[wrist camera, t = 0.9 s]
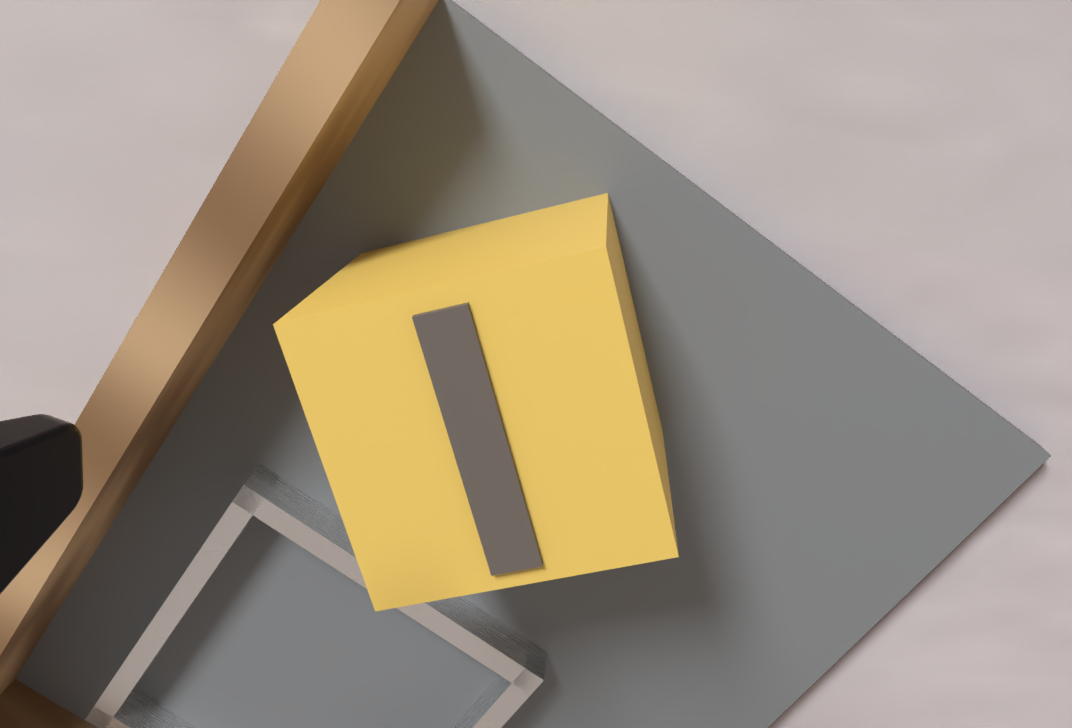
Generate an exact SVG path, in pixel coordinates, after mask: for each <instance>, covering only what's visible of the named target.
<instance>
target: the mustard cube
mask: <svg viewBox="0 0 1072 728" xmlns="http://www.w3.org/2000/svg"><path fill="white" fill-rule="evenodd" d="M273 326H274V329H275V332H276V334H277V337H278V340H279V343H280V346H281V348H282V351H283V354H284V357H285V360H286V363H287V365H288V368H289V371H290V374H291V377H292V379H293V382H294V385H295V388H296V391H297V393H298V396H299V399H300V402H301V405H302V407H303V410H304V413H305V416H306V419H307V421H308V424H309V427H310V430H311V433H312V436H313V438H314V441H315V444H316V447H317V450H318V452H319V455H320V458H321V461H322V464H323V466H324V469H325V472H326V475H327V478H328V480H329V483H330V486H331V489H332V492H333V494H334V497H335V500H336V503H337V506H338V509H339V511H340V514H341V517H342V520H343V523H344V525H345V528H346V531H347V534H348V537H349V539H350V542H351V545H352V548H353V551H354V553H355V556H356V559H357V562H358V565H359V568H360V570H361V573H362V576H363V579H364V582H365V584H366V587H367V590H368V593H369V596H370V598H371V601H372V604H373V607H374V610H375V611H381V610H386V609H392V608H398V607H403V606H409V605H414V604H420V603H425V602H431V601H437V600H442V599H448V598H453V597H459V596H464V595H470V594H476V593H481V592H487V591H492V590H498V589H503V588H509V587H515V586H520V585H526V584H531V583H537V582H542V581H548V580H554V579H559V578H565V577H570V576H576V575H581V574H587V573H593V572H598V571H604V570H609V569H615V568H620V567H626V566H632V565H637V564H643V563H648V562H654V561H659V560H665V559H671V558H676V557H679V554H678V547H677V539H676V531H675V523H674V516H673V508H672V500H671V492H670V485H669V477H668V469H667V461H666V453H665V446H664V438H663V430H662V426H661V421H660V417H659V413H658V408H657V404H656V400H655V395H654V391H653V387H652V382H651V378H650V374H649V369H648V365H647V361H646V356H645V352H644V347H643V343H642V339H641V334H640V330H639V326H638V321H637V317H636V313H635V308H634V304H633V300H632V295H631V291H630V287H629V282H628V278H627V273H626V269H625V265H624V260H623V256H622V252H621V247H620V243H619V239H618V234H617V230H616V226H615V221H614V217H613V213H612V208H611V204H610V199H609V195H608V193H605V194H601V195H597V196H593V197H589V198H585V199H581V200H577V201H573V202H569V203H565V204H560V205H556V206H552V207H548V208H544V209H540V210H536V211H532V212H528V213H524V214H520V215H515V216H511V217H507V218H503V219H499V220H495V221H491V222H487V223H483V224H479V225H474V226H470V227H466V228H462V229H458V230H454V231H450V232H446V233H442V234H438V235H434V236H429V237H425V238H421V239H417V240H413V241H409V242H405V243H401V244H397V245H393V246H389V247H384V248H380V249H376V250H372V251H368V252H364V253H361V254H360V255H359V256H357V257H356V258H355V259H354V260H352V261H351V262H350V263H349V264H347V265H346V266H345V267H344V268H342V269H341V270H340V271H339V272H337V273H336V274H335V275H334V276H332V277H331V278H330V279H329V280H328V281H326V282H325V283H324V284H323V285H321V286H320V287H319V288H318V289H316V290H315V291H314V292H313V293H311V294H310V295H309V296H308V297H306V298H305V299H304V300H303V301H301V302H300V303H299V304H298V305H297V306H295V307H294V308H293V309H292V310H290V311H289V312H288V313H287V314H285V315H284V316H283V317H282V318H280V319H279V320H278V321H277V322H275V323H274V324H273Z"/></svg>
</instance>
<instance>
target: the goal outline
mask: <svg viewBox="0 0 1072 728" xmlns="http://www.w3.org/2000/svg"><path fill="white" fill-rule="evenodd" d="M253 516H255V517H256V518H258V519H259V520H261V521H262V522H264V523H266V524H267V525H269V526H270V527H272V528H273V529H275V530H276V531H278V532H279V533H281V534H283V535H284V536H286V537H287V538H289V539H290V540H292V541H293V542H295V543H296V544H298V545H300V546H301V547H303V548H304V549H306V550H307V551H309V552H310V553H312V554H313V555H315V556H317V557H318V558H320V559H321V560H323V561H324V562H326V563H327V564H329V565H330V566H332V567H334V568H335V569H337V570H338V571H340V572H341V573H343V574H344V575H346V576H347V577H349V578H351V579H352V580H354V581H355V582H357V583H358V584H360V585H361V586H363V587H364V588H366V589H367V587H366V584H365V582H364V579H363V576H362V573H361V570H360V568H359V565H358V562H357V559H356V556H355V553H354V551H353V548H352V545H351V542H350V539H349V537H348V534H347V531H346V528H345V525H344V523H343V520H342V517H341V516H340V515H338V514H336V513H335V512H333V511H332V510H330V509H329V508H327V507H326V506H324V505H323V504H321V503H320V502H318V501H317V500H315V499H314V498H312V497H311V496H309V495H308V494H306V493H305V492H303V491H301V490H300V489H298V488H297V487H295V486H294V485H292V484H291V483H289V482H288V481H286V480H285V479H283V478H282V477H280V476H279V475H277V474H276V473H274V472H273V471H271V470H270V469H268V468H266V467H265V466H263V465H262V464H261V465H260V466H259V467H258V468H257V470H256V471H255V472H254V473H253V474H252V476H251V477H250V478H249V479H248V480H247V481H246V483H245V484H244V485H243V486H242V488H241V489H240V491H239V492H238V494H237V495H236V497H235V498H234V500H233V501H232V503H231V504H230V506H229V507H228V509H227V510H226V512H225V513H224V515H223V516H222V518H221V519H220V521H219V522H218V524H217V525H216V526H215V528H214V529H213V531H212V532H211V534H210V535H209V537H208V538H207V540H206V541H205V543H204V544H203V546H202V547H201V549H200V550H199V552H198V553H197V555H196V556H195V558H194V559H193V561H192V562H191V563H190V565H189V566H188V568H187V569H186V571H185V572H184V574H183V575H182V577H181V578H180V580H179V581H178V583H177V584H176V586H175V587H174V589H173V590H172V592H171V593H170V595H169V596H168V598H167V599H166V601H165V602H164V603H163V605H162V606H161V608H160V609H159V611H158V612H157V614H156V615H155V617H154V618H153V620H152V621H151V623H150V624H149V626H148V627H147V629H146V630H145V632H144V633H143V635H142V636H141V638H140V639H139V640H138V642H137V643H136V645H135V646H134V648H133V649H132V651H131V652H130V654H129V655H128V657H127V658H126V660H125V661H124V663H123V664H122V666H121V667H120V669H119V670H118V672H117V673H116V675H115V676H114V678H113V679H112V680H111V682H110V683H109V685H108V686H107V688H106V689H105V691H104V692H103V694H102V695H101V697H100V698H99V700H98V701H97V703H96V704H95V706H94V707H93V709H92V710H91V712H90V713H89V715H88V716H87V717H86V719H85V720H86V721H88V722H89V723H91V724H93V725H94V726H96V727H98V728H198V727H196V726H194V725H193V724H191V723H190V722H188V721H186V720H185V719H183V718H181V717H180V716H178V715H176V714H175V713H173V712H171V711H170V710H168V709H166V708H165V707H163V706H162V705H160V704H158V703H157V702H155V701H153V700H152V699H150V698H148V697H147V696H145V695H143V694H142V693H140V692H138V691H137V690H135V687H136V686H137V684H138V683H139V681H140V680H141V679H142V677H143V676H144V674H145V673H146V671H147V670H148V668H149V667H150V666H151V664H152V663H153V661H154V660H155V658H156V657H157V655H158V654H159V653H160V651H161V650H162V648H163V647H164V645H165V644H166V642H167V641H168V639H169V638H170V637H171V635H172V634H173V632H174V631H175V629H176V628H177V626H178V625H179V624H180V622H181V621H182V619H183V618H184V616H185V615H186V613H187V612H188V611H189V609H190V608H191V606H192V605H193V603H194V602H195V600H196V599H197V597H198V596H199V595H200V593H201V592H202V590H203V589H204V587H205V586H206V584H207V583H208V582H209V580H210V579H211V577H212V576H213V574H214V573H215V571H216V570H217V569H218V567H219V566H220V564H221V563H222V561H223V560H224V558H225V557H226V555H227V554H228V553H229V551H230V550H231V548H232V547H233V545H234V544H235V542H236V541H237V540H238V538H239V537H240V535H241V534H242V532H243V531H244V529H245V528H246V526H247V525H248V524H249V522H250V521H251V519H252V518H253ZM397 609H398V610H400V611H401V612H403V613H405V614H406V615H408V616H409V617H411V618H412V619H414V620H415V621H417V622H418V623H420V624H422V625H423V626H425V627H426V628H428V629H429V630H431V631H432V632H434V633H435V634H437V635H439V636H440V637H442V638H443V639H445V640H446V641H448V642H449V643H451V644H452V645H454V646H456V647H457V648H459V649H460V650H462V651H463V652H465V653H466V654H468V655H469V656H471V657H472V658H474V659H476V660H477V661H479V662H480V663H482V664H483V665H485V666H486V667H488V668H489V669H491V670H493V671H494V672H496V673H497V674H499V675H498V676H497V678H496V679H495V680H494V681H493V682H492V683H491V684H490V686H489V687H488V688H487V689H486V690H485V691H484V692H483V694H482V695H481V696H480V697H479V698H478V699H477V700H476V702H475V703H474V704H473V705H472V706H471V707H470V708H469V710H468V711H467V712H466V713H465V714H464V715H463V716H462V718H461V719H460V720H459V721H458V722H457V723H456V724H455V726H454V727H453V728H501V727H502V726H503V725H504V724H505V723H506V722H507V721H508V720H509V719H510V717H511V716H512V715H513V714H514V713H515V712H516V711H517V710H518V709H519V707H520V706H521V705H522V704H523V703H524V702H525V701H526V700H527V699H528V697H529V696H530V695H531V694H532V693H533V692H534V691H535V690H536V689H537V687H538V686H539V685H540V684H541V683H542V682H543V681H544V675H545V666H546V657H547V651H545V650H544V649H542V648H540V647H539V646H537V645H536V644H534V643H533V642H531V641H530V640H528V639H527V638H525V637H524V636H522V635H521V634H519V633H518V632H516V631H515V630H513V629H512V628H510V627H509V626H507V625H505V624H504V623H502V622H501V621H499V620H498V619H496V618H495V617H493V616H492V615H490V614H489V613H487V612H486V611H484V610H483V609H481V608H480V607H478V606H477V605H475V604H474V603H472V602H470V601H469V600H467V599H466V598H464V597H463V596H459V597H453V598H448V599H442V600H437V601H431V602H425V603H420V604H414V605H409V606H403V607H398V608H397Z"/></svg>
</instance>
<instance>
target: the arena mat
mask: <svg viewBox="0 0 1072 728" xmlns="http://www.w3.org/2000/svg"><path fill="white" fill-rule="evenodd" d="M605 193H608V195H609V199H610V204H611V208H612V213H613V217H614V221H615V226H616V230H617V234H618V239H619V243H620V247H621V252H622V256H623V260H624V265H625V269H626V273H627V278H628V282H629V287H630V291H631V295H632V300H633V304H634V308H635V313H636V317H637V321H638V326H639V330H640V334H641V339H642V343H643V347H644V352H645V356H646V361H647V365H648V369H649V374H650V378H651V382H652V387H653V391H654V395H655V400H656V404H657V408H658V413H659V417H660V421H661V426H662V430H663V438H664V446H665V453H666V461H667V469H668V477H669V485H670V492H671V500H672V508H673V516H674V523H675V531H676V539H677V547H678V554H679V557H676V558H671V559H665V560H659V561H654V562H648V563H643V564H637V565H632V566H626V567H620V568H615V569H609V570H604V571H598V572H593V573H587V574H581V575H576V576H570V577H565V578H559V579H554V580H548V581H542V582H537V583H531V584H526V585H520V586H515V587H509V588H503V589H498V590H492V591H487V592H481V593H476V594H470V595H464V596H463V597H464V598H466V599H467V600H469V601H470V602H472V603H474V604H475V605H477V606H478V607H480V608H481V609H483V610H484V611H486V612H487V613H489V614H490V615H492V616H493V617H495V618H496V619H498V620H499V621H501V622H502V623H504V624H505V625H507V626H509V627H510V628H512V629H513V630H515V631H516V632H518V633H519V634H521V635H522V636H524V637H525V638H527V639H528V640H530V641H531V642H533V643H534V644H536V645H537V646H539V647H540V648H542V649H544V650H545V651H547V657H546V666H545V675H544V681H543V682H542V683H541V684H540V685H539V686H538V687H537V689H536V690H535V691H534V692H533V693H532V694H531V695H530V696H529V697H528V699H527V700H526V701H525V702H524V703H523V704H522V705H521V706H520V707H519V709H518V710H517V711H516V712H515V713H514V714H513V715H512V716H511V717H510V719H509V720H508V721H507V722H506V723H505V724H504V725H503V726H502V727H501V728H768V727H769V726H770V725H771V724H772V723H773V722H774V721H775V720H776V719H777V718H778V717H779V716H780V715H781V714H782V713H783V712H785V711H786V710H787V709H788V708H789V707H790V706H791V705H792V704H793V703H794V702H795V701H796V700H797V699H798V698H799V697H800V696H801V695H802V694H803V693H804V692H805V691H806V690H807V689H809V688H810V687H811V686H812V685H813V684H814V683H815V682H816V681H817V680H818V679H819V678H820V677H821V676H822V675H823V674H824V673H825V672H826V671H827V670H828V669H829V668H830V667H831V666H833V665H834V664H835V663H836V662H837V661H838V660H839V659H840V658H841V657H842V656H843V655H844V654H845V653H846V652H847V651H848V650H849V649H850V648H851V647H852V646H853V645H854V644H855V643H856V642H858V641H859V640H860V639H861V638H862V637H863V636H864V635H865V634H866V633H867V632H868V631H869V630H870V629H871V628H872V627H873V626H874V625H875V624H876V623H877V622H878V621H879V620H880V619H882V618H883V617H884V616H885V615H886V614H887V613H888V612H889V611H890V610H891V609H892V608H893V607H894V606H895V605H896V604H897V603H898V602H899V601H900V600H901V599H902V598H903V597H904V596H905V595H907V594H908V593H909V592H910V591H911V590H912V589H913V588H914V587H915V586H916V585H917V584H918V583H919V582H920V581H921V580H922V579H923V578H924V577H925V576H926V575H927V574H928V573H929V572H931V571H932V570H933V569H934V568H935V567H936V566H937V565H938V564H939V563H940V562H941V561H942V560H943V559H944V558H945V557H946V556H947V555H948V554H949V553H950V552H951V551H952V550H953V549H954V548H956V547H957V546H958V545H959V544H960V543H961V542H962V541H963V540H964V539H965V538H966V537H967V536H968V535H969V534H970V533H971V532H972V531H973V530H974V529H975V528H976V527H977V526H978V525H980V524H981V523H982V522H983V521H984V520H985V519H986V518H987V517H988V516H989V515H990V514H991V513H992V512H993V511H994V510H995V509H996V508H997V507H998V506H999V505H1000V504H1001V503H1002V502H1003V501H1005V500H1006V499H1007V498H1008V497H1009V496H1010V495H1011V494H1012V493H1013V492H1014V491H1015V490H1016V489H1017V488H1018V487H1019V486H1020V485H1021V484H1022V483H1023V482H1024V481H1025V480H1026V479H1027V478H1029V477H1030V476H1031V475H1032V474H1033V473H1034V472H1035V471H1036V470H1037V469H1038V468H1039V467H1040V466H1041V465H1042V464H1043V463H1044V462H1045V461H1046V460H1047V459H1048V458H1049V457H1050V456H1051V455H1050V454H1049V453H1048V452H1046V451H1045V450H1044V449H1043V448H1042V447H1041V446H1040V445H1039V444H1037V443H1036V442H1035V441H1033V440H1032V439H1031V438H1029V437H1028V436H1027V435H1025V434H1024V433H1023V432H1021V431H1020V430H1019V429H1017V428H1016V427H1015V426H1014V425H1012V424H1011V423H1010V422H1008V421H1007V420H1006V419H1004V418H1003V417H1002V416H1000V415H999V414H998V413H996V412H995V411H994V410H992V409H991V408H990V407H988V406H987V405H986V404H984V403H983V402H982V401H980V400H979V399H978V398H977V397H975V396H974V395H973V394H971V393H970V392H969V391H967V390H966V389H965V388H963V387H962V386H961V385H959V384H958V383H957V382H955V381H954V380H953V379H951V378H950V377H949V376H947V375H946V374H945V373H943V372H942V371H941V370H940V369H938V368H937V367H936V366H934V365H933V364H932V363H930V362H929V361H928V360H926V359H925V358H924V357H922V356H921V355H920V354H918V353H917V352H916V351H914V350H913V349H912V348H910V347H909V346H908V345H906V344H905V343H904V342H903V341H901V340H900V339H899V338H897V337H896V336H895V335H893V334H892V333H891V332H889V331H888V330H887V329H885V328H884V327H883V326H881V325H880V324H879V323H877V322H876V321H875V320H873V319H872V318H871V317H870V316H868V315H867V314H866V313H864V312H863V311H862V310H860V309H859V308H858V307H856V306H855V305H854V304H852V303H851V302H850V301H848V300H847V299H846V298H844V297H843V296H842V295H840V294H839V293H838V292H836V291H835V290H834V289H833V288H831V287H830V286H829V285H827V284H826V283H825V282H823V281H822V280H821V279H819V278H818V277H817V276H815V275H814V274H813V273H811V272H810V271H809V270H807V269H806V268H805V267H803V266H802V265H801V264H799V263H798V262H797V261H796V260H794V259H793V258H792V257H790V256H789V255H788V254H786V253H785V252H784V251H782V250H781V249H780V248H778V247H777V246H776V245H774V244H773V243H772V242H770V241H769V240H768V239H766V238H765V237H764V236H762V235H761V234H760V233H759V232H757V231H756V230H755V229H753V228H752V227H751V226H749V225H748V224H747V223H745V222H744V221H743V220H741V219H740V218H739V217H737V216H736V215H735V214H733V213H732V212H731V211H729V210H728V209H727V208H725V207H724V206H723V205H722V204H720V203H719V202H718V201H716V200H715V199H714V198H712V197H711V196H710V195H708V194H707V193H706V192H704V191H703V190H702V189H700V188H699V187H698V186H696V185H695V184H694V183H692V182H691V181H690V180H688V179H687V178H686V177H685V176H683V175H682V174H681V173H679V172H678V171H677V170H675V169H674V168H673V167H671V166H670V165H669V164H667V163H666V162H665V161H663V160H662V159H661V158H659V157H658V156H657V155H655V154H654V153H653V152H651V151H650V150H649V149H648V148H646V147H645V146H644V145H642V144H641V143H640V142H638V141H637V140H636V139H634V138H633V137H632V136H630V135H629V134H628V133H626V132H625V131H624V130H622V129H621V128H620V127H618V126H617V125H616V124H614V123H613V122H612V121H611V120H609V119H608V118H607V117H605V116H604V115H603V114H601V113H600V112H599V111H597V110H596V109H595V108H593V107H592V106H591V105H589V104H588V103H587V102H585V101H584V100H583V99H581V98H580V97H579V96H578V95H576V94H575V93H574V92H572V91H571V90H570V89H568V88H567V87H566V86H564V85H563V84H562V83H560V82H559V81H558V80H556V79H555V78H554V77H552V76H551V75H550V74H548V73H547V72H546V71H544V70H543V69H542V68H541V67H539V66H538V65H537V64H535V63H534V62H533V61H531V60H530V59H529V58H527V57H526V56H525V55H523V54H522V53H521V52H519V51H518V50H517V49H515V48H514V47H513V46H511V45H510V44H509V43H507V42H506V41H505V40H504V39H502V38H501V37H500V36H498V35H497V34H496V33H494V32H493V31H492V30H490V29H489V28H488V27H486V26H485V25H484V24H482V23H481V22H480V21H478V20H477V19H476V18H474V17H473V16H472V15H470V14H469V13H468V12H467V11H465V10H464V9H463V8H461V7H460V6H459V5H457V4H456V3H455V2H453V1H452V0H439V1H438V3H437V5H436V6H435V8H434V9H433V11H432V13H431V14H430V16H429V17H428V19H427V21H426V22H425V24H424V25H423V27H422V29H421V30H420V32H419V33H418V35H417V37H416V38H415V40H414V41H413V43H412V45H411V46H410V48H409V50H408V51H407V53H406V54H405V56H404V58H403V59H402V61H401V62H400V64H399V66H398V67H397V69H396V70H395V72H394V74H393V75H392V77H391V78H390V80H389V82H388V83H387V85H386V86H385V88H384V90H383V91H382V93H381V94H380V96H379V98H378V99H377V101H376V102H375V104H374V106H373V107H372V109H371V110H370V112H369V114H368V115H367V117H366V118H365V120H364V122H363V123H362V125H361V126H360V128H359V130H358V131H357V133H356V134H355V136H354V138H353V139H352V141H351V142H350V144H349V146H348V147H347V149H346V150H345V152H344V154H343V155H342V157H341V158H340V160H339V162H338V163H337V165H336V166H335V168H334V170H333V171H332V173H331V174H330V176H329V178H328V179H327V181H326V182H325V184H324V186H323V187H322V189H321V190H320V192H319V194H318V195H317V197H316V198H315V200H314V202H313V203H312V205H311V206H310V208H309V210H308V211H307V213H306V214H305V216H304V218H303V219H302V221H301V222H300V224H299V226H298V227H297V229H296V230H295V232H294V234H293V235H292V237H291V238H290V240H289V242H288V243H287V245H286V246H285V248H284V250H283V251H282V253H281V254H280V256H279V258H278V259H277V261H276V262H275V264H274V266H273V267H272V269H271V270H270V272H269V274H268V275H267V277H266V278H265V280H264V282H263V283H262V285H261V286H260V288H259V290H258V291H257V293H256V294H255V296H254V298H253V299H252V301H251V302H250V304H249V306H248V307H247V309H246V310H245V312H244V314H243V315H242V317H241V318H240V320H239V322H238V323H237V325H236V326H235V328H234V330H233V331H232V333H231V334H230V336H229V338H228V339H227V341H226V342H225V344H224V346H223V347H222V349H221V350H220V352H219V354H218V355H217V357H216V358H215V360H214V362H213V363H212V365H211V366H210V368H209V370H208V371H207V373H206V374H205V376H204V378H203V379H202V381H201V382H200V384H199V386H198V387H197V389H196V390H195V392H194V394H193V395H192V397H191V398H190V400H189V402H188V403H187V405H186V406H185V408H184V410H183V411H182V413H181V414H180V416H179V418H178V419H177V421H176V422H175V424H174V426H173V427H172V429H171V430H170V432H169V434H168V435H167V437H166V438H165V440H164V442H163V443H162V445H161V446H160V448H159V450H158V451H157V453H156V454H155V456H154V458H153V459H152V461H151V462H150V464H149V466H148V467H147V469H146V470H145V472H144V474H143V475H142V477H141V478H140V480H139V482H138V483H137V485H136V486H135V488H134V490H133V491H132V493H131V494H130V496H129V498H128V499H127V501H126V502H125V504H124V506H123V507H122V509H121V510H120V512H119V514H118V515H117V517H116V518H115V520H114V522H113V523H112V525H111V526H110V528H109V530H108V531H107V533H106V534H105V536H104V538H103V539H102V541H101V542H100V544H99V546H98V547H97V549H96V550H95V552H94V554H93V555H92V557H91V558H90V560H89V562H88V563H87V565H86V567H85V568H84V570H83V571H82V573H81V575H80V576H79V578H78V579H77V581H76V583H75V584H74V586H73V587H72V589H71V591H70V592H69V594H68V595H67V597H66V599H65V600H64V602H63V603H62V605H61V607H60V608H59V610H58V611H57V613H56V615H55V616H54V618H53V619H52V621H51V623H50V624H49V626H48V627H47V629H46V631H45V632H44V634H43V635H42V637H41V639H40V640H39V642H38V643H37V645H36V647H35V648H34V650H33V651H32V653H31V655H30V656H29V658H28V659H27V661H26V663H25V664H24V666H23V667H22V669H21V671H20V672H19V674H18V675H17V677H16V680H18V681H19V682H21V683H23V684H24V685H26V686H28V687H29V688H31V689H33V690H34V691H36V692H38V693H39V694H41V695H43V696H44V697H46V698H48V699H49V700H51V701H53V702H54V703H56V704H58V705H59V706H61V707H63V708H64V709H66V710H68V711H69V712H71V713H73V714H74V715H76V716H78V717H79V718H81V719H83V720H85V719H86V717H87V716H88V715H89V713H90V712H91V710H92V709H93V707H94V706H95V704H96V703H97V701H98V700H99V698H100V697H101V695H102V694H103V692H104V691H105V689H106V688H107V686H108V685H109V683H110V682H111V680H112V679H113V678H114V676H115V675H116V673H117V672H118V670H119V669H120V667H121V666H122V664H123V663H124V661H125V660H126V658H127V657H128V655H129V654H130V652H131V651H132V649H133V648H134V646H135V645H136V643H137V642H138V640H139V639H140V638H141V636H142V635H143V633H144V632H145V630H146V629H147V627H148V626H149V624H150V623H151V621H152V620H153V618H154V617H155V615H156V614H157V612H158V611H159V609H160V608H161V606H162V605H163V603H164V602H165V601H166V599H167V598H168V596H169V595H170V593H171V592H172V590H173V589H174V587H175V586H176V584H177V583H178V581H179V580H180V578H181V577H182V575H183V574H184V572H185V571H186V569H187V568H188V566H189V565H190V563H191V562H192V561H193V559H194V558H195V556H196V555H197V553H198V552H199V550H200V549H201V547H202V546H203V544H204V543H205V541H206V540H207V538H208V537H209V535H210V534H211V532H212V531H213V529H214V528H215V526H216V525H217V524H218V522H219V521H220V519H221V518H222V516H223V515H224V513H225V512H226V510H227V509H228V507H229V506H230V504H231V503H232V501H233V500H234V498H235V497H236V495H237V494H238V492H239V491H240V489H241V488H242V486H243V485H244V484H245V483H246V481H247V480H248V479H249V478H250V477H251V476H252V474H253V473H254V472H255V471H256V470H257V468H258V467H259V466H260V465H261V464H262V465H263V466H265V467H266V468H268V469H270V470H271V471H273V472H274V473H276V474H277V475H279V476H280V477H282V478H283V479H285V480H286V481H288V482H289V483H291V484H292V485H294V486H295V487H297V488H298V489H300V490H301V491H303V492H305V493H306V494H308V495H309V496H311V497H312V498H314V499H315V500H317V501H318V502H320V503H321V504H323V505H324V506H326V507H327V508H329V509H330V510H332V511H333V512H335V513H336V514H338V515H340V516H341V514H340V511H339V509H338V506H337V503H336V500H335V497H334V494H333V492H332V489H331V486H330V483H329V480H328V478H327V475H326V472H325V469H324V466H323V464H322V461H321V458H320V455H319V452H318V450H317V447H316V444H315V441H314V438H313V436H312V433H311V430H310V427H309V424H308V421H307V419H306V416H305V413H304V410H303V407H302V405H301V402H300V399H299V396H298V393H297V391H296V388H295V385H294V382H293V379H292V377H291V374H290V371H289V368H288V365H287V363H286V360H285V357H284V354H283V351H282V348H281V346H280V343H279V340H278V337H277V334H276V332H275V329H274V326H273V324H274V323H275V322H277V321H278V320H279V319H280V318H282V317H283V316H284V315H285V314H287V313H288V312H289V311H290V310H292V309H293V308H294V307H295V306H297V305H298V304H299V303H300V302H301V301H303V300H304V299H305V298H306V297H308V296H309V295H310V294H311V293H313V292H314V291H315V290H316V289H318V288H319V287H320V286H321V285H323V284H324V283H325V282H326V281H328V280H329V279H330V278H331V277H332V276H334V275H335V274H336V273H337V272H339V271H340V270H341V269H342V268H344V267H345V266H346V265H347V264H349V263H350V262H351V261H352V260H354V259H355V258H356V257H357V256H359V255H360V254H361V253H364V252H368V251H372V250H376V249H380V248H384V247H389V246H393V245H397V244H401V243H405V242H409V241H413V240H417V239H421V238H425V237H429V236H434V235H438V234H442V233H446V232H450V231H454V230H458V229H462V228H466V227H470V226H474V225H479V224H483V223H487V222H491V221H495V220H499V219H503V218H507V217H511V216H515V215H520V214H524V213H528V212H532V211H536V210H540V209H544V208H548V207H552V206H556V205H560V204H565V203H569V202H573V201H577V200H581V199H585V198H589V197H593V196H597V195H601V194H605ZM498 675H499V674H497V673H496V672H494V671H493V670H491V669H489V668H488V667H486V666H485V665H483V664H482V663H480V662H479V661H477V660H476V659H474V658H472V657H471V656H469V655H468V654H466V653H465V652H463V651H462V650H460V649H459V648H457V647H456V646H454V645H452V644H451V643H449V642H448V641H446V640H445V639H443V638H442V637H440V636H439V635H437V634H435V633H434V632H432V631H431V630H429V629H428V628H426V627H425V626H423V625H422V624H420V623H418V622H417V621H415V620H414V619H412V618H411V617H409V616H408V615H406V614H405V613H403V612H401V611H400V610H398V609H397V608H392V609H386V610H381V611H375V610H374V607H373V604H372V601H371V598H370V596H369V593H368V590H367V589H366V588H364V587H363V586H361V585H360V584H358V583H357V582H355V581H354V580H352V579H351V578H349V577H347V576H346V575H344V574H343V573H341V572H340V571H338V570H337V569H335V568H334V567H332V566H330V565H329V564H327V563H326V562H324V561H323V560H321V559H320V558H318V557H317V556H315V555H313V554H312V553H310V552H309V551H307V550H306V549H304V548H303V547H301V546H300V545H298V544H296V543H295V542H293V541H292V540H290V539H289V538H287V537H286V536H284V535H283V534H281V533H279V532H278V531H276V530H275V529H273V528H272V527H270V526H269V525H267V524H266V523H264V522H262V521H261V520H259V519H258V518H256V517H255V516H253V518H252V519H251V521H250V522H249V524H248V525H247V526H246V528H245V529H244V531H243V532H242V534H241V535H240V537H239V538H238V540H237V541H236V542H235V544H234V545H233V547H232V548H231V550H230V551H229V553H228V554H227V555H226V557H225V558H224V560H223V561H222V563H221V564H220V566H219V567H218V569H217V570H216V571H215V573H214V574H213V576H212V577H211V579H210V580H209V582H208V583H207V584H206V586H205V587H204V589H203V590H202V592H201V593H200V595H199V596H198V597H197V599H196V600H195V602H194V603H193V605H192V606H191V608H190V609H189V611H188V612H187V613H186V615H185V616H184V618H183V619H182V621H181V622H180V624H179V625H178V626H177V628H176V629H175V631H174V632H173V634H172V635H171V637H170V638H169V639H168V641H167V642H166V644H165V645H164V647H163V648H162V650H161V651H160V653H159V654H158V655H157V657H156V658H155V660H154V661H153V663H152V664H151V666H150V667H149V668H148V670H147V671H146V673H145V674H144V676H143V677H142V679H141V680H140V681H139V683H138V684H137V686H136V687H135V690H137V691H138V692H140V693H142V694H143V695H145V696H147V697H148V698H150V699H152V700H153V701H155V702H157V703H158V704H160V705H162V706H163V707H165V708H166V709H168V710H170V711H171V712H173V713H175V714H176V715H178V716H180V717H181V718H183V719H185V720H186V721H188V722H190V723H191V724H193V725H194V726H196V727H198V728H453V727H454V726H455V724H456V723H457V722H458V721H459V720H460V719H461V718H462V716H463V715H464V714H465V713H466V712H467V711H468V710H469V708H470V707H471V706H472V705H473V704H474V703H475V702H476V700H477V699H478V698H479V697H480V696H481V695H482V694H483V692H484V691H485V690H486V689H487V688H488V687H489V686H490V684H491V683H492V682H493V681H494V680H495V679H496V678H497V676H498ZM85 721H86V720H85ZM86 722H88V721H86ZM88 723H89V722H88ZM90 724H91V723H90ZM91 725H93V724H91ZM93 726H94V725H93ZM95 727H96V726H95ZM96 728H98V727H96Z"/></svg>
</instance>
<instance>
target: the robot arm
mask: <svg viewBox="0 0 1072 728" xmlns="http://www.w3.org/2000/svg"><path fill="white" fill-rule="evenodd" d="M82 491H83V453H82V435H81V433H80V431H79V429H78V427H76V426H75V425H74V424H72V423H69V422H66V421H63V420H61V419H58V418H55V417H52V416H49V415H45V414H38V415H32V416H26V417H21V418H16V419H10V420H5V421H0V594H1V593H2V592H3V591H4V590H5V588H6V587H7V586H8V585H9V584H10V583H11V581H12V580H13V579H14V578H15V577H16V576H17V575H18V573H19V572H20V571H21V570H22V569H23V568H24V567H25V565H26V564H27V563H28V562H29V561H30V560H31V558H32V557H33V556H34V555H35V554H36V553H37V552H38V550H39V549H40V548H41V547H42V546H43V545H44V543H45V542H46V541H47V540H48V539H49V538H50V537H51V535H52V534H53V533H54V532H55V531H56V530H57V529H58V527H59V526H60V525H61V524H62V523H63V522H64V520H65V519H66V518H67V517H68V516H69V515H70V514H71V512H72V511H73V510H74V509H75V507H76V506H77V504H78V502H79V500H80V498H81V495H82Z"/></svg>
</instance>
